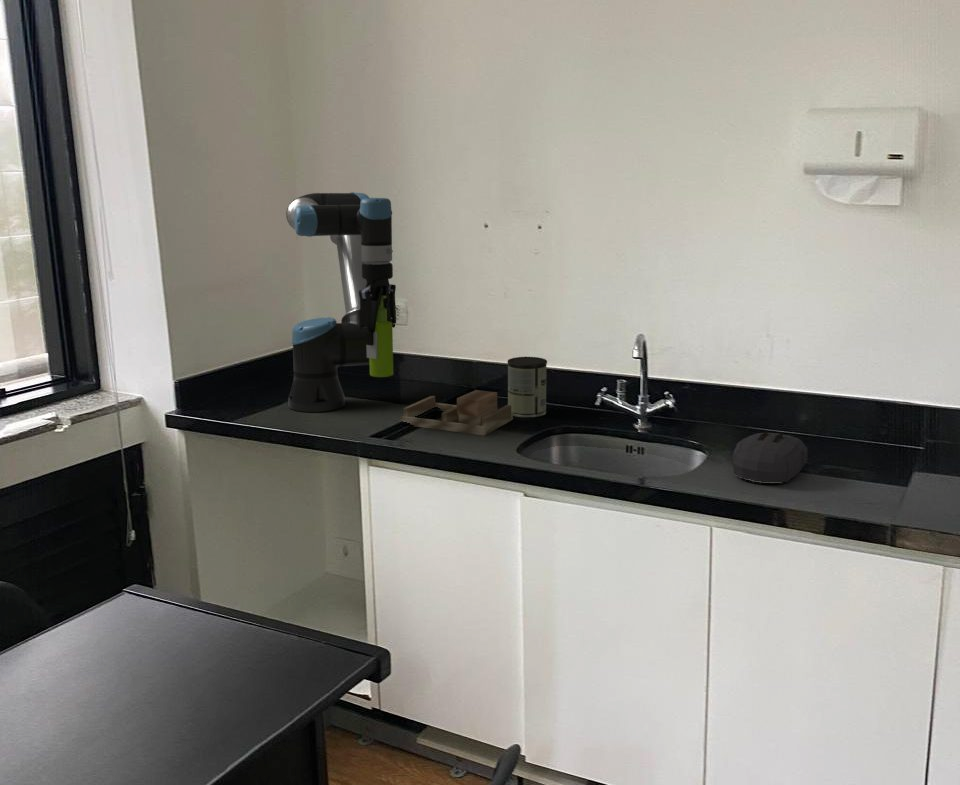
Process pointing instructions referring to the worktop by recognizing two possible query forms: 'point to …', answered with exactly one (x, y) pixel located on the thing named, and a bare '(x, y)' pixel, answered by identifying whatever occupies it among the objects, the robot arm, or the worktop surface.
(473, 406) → the upper offcut
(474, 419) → the lower offcut
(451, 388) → the worktop surface
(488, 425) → the rack
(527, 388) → the coffee can
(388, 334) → the soap dispenser
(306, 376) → the robot arm
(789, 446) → the slotted dark dome
